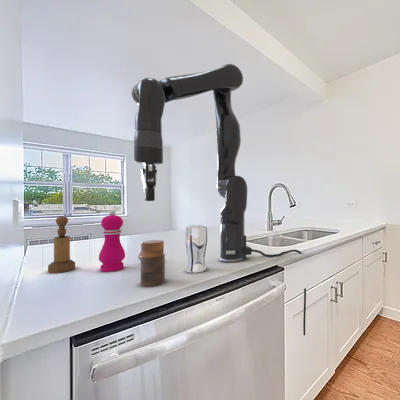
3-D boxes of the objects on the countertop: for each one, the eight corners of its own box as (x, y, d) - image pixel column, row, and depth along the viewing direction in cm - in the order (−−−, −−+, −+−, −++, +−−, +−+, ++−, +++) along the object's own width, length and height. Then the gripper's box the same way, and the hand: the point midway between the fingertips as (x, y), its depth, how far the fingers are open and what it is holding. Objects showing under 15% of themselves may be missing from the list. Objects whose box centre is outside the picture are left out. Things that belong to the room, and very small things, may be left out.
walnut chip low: (163, 278, 77) (163, 265, 77) (165, 284, 72) (165, 270, 72) (140, 281, 74) (140, 268, 74) (140, 288, 69) (140, 273, 68)
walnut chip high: (163, 265, 77) (163, 252, 77) (165, 270, 72) (165, 256, 72) (140, 268, 74) (140, 254, 73) (140, 273, 68) (140, 258, 68)
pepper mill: (111, 273, 82) (111, 211, 82) (93, 271, 83) (92, 210, 83) (130, 267, 89) (130, 210, 89) (113, 265, 90) (113, 209, 90)
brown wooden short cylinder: (163, 252, 76) (163, 239, 76) (164, 256, 72) (164, 242, 72) (141, 254, 73) (141, 240, 73) (141, 258, 69) (141, 244, 69)
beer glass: (181, 270, 86) (181, 225, 85) (201, 266, 90) (202, 224, 90) (190, 274, 81) (190, 227, 80) (210, 270, 86) (211, 226, 85)
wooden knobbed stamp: (45, 274, 80) (45, 217, 80) (50, 269, 85) (50, 216, 85) (74, 271, 84) (73, 216, 84) (76, 266, 89) (76, 215, 89)
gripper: (165, 145, 73) (165, 201, 73) (160, 152, 85) (160, 200, 85) (134, 142, 69) (134, 201, 69) (133, 149, 81) (134, 200, 81)
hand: (149, 200), depth 77 cm, fingers open, 8 cm apart
